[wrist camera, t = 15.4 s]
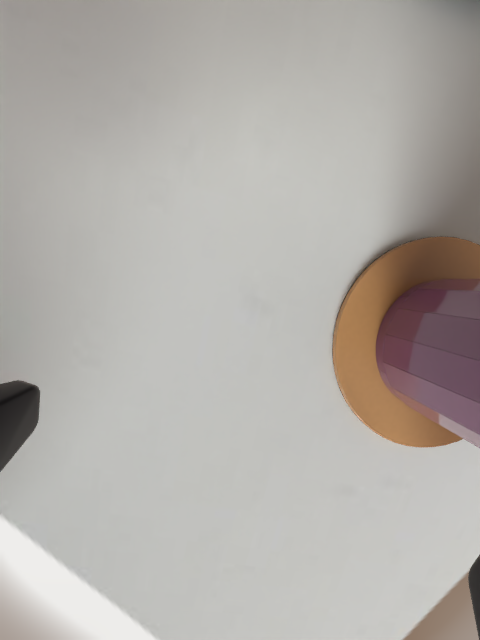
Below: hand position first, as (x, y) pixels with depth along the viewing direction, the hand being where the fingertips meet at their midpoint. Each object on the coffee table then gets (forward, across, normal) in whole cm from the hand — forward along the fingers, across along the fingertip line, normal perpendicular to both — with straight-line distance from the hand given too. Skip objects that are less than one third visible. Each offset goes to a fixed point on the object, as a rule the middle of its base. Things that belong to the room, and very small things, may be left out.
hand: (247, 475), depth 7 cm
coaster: (+14, -8, 0) cm, 16 cm away
